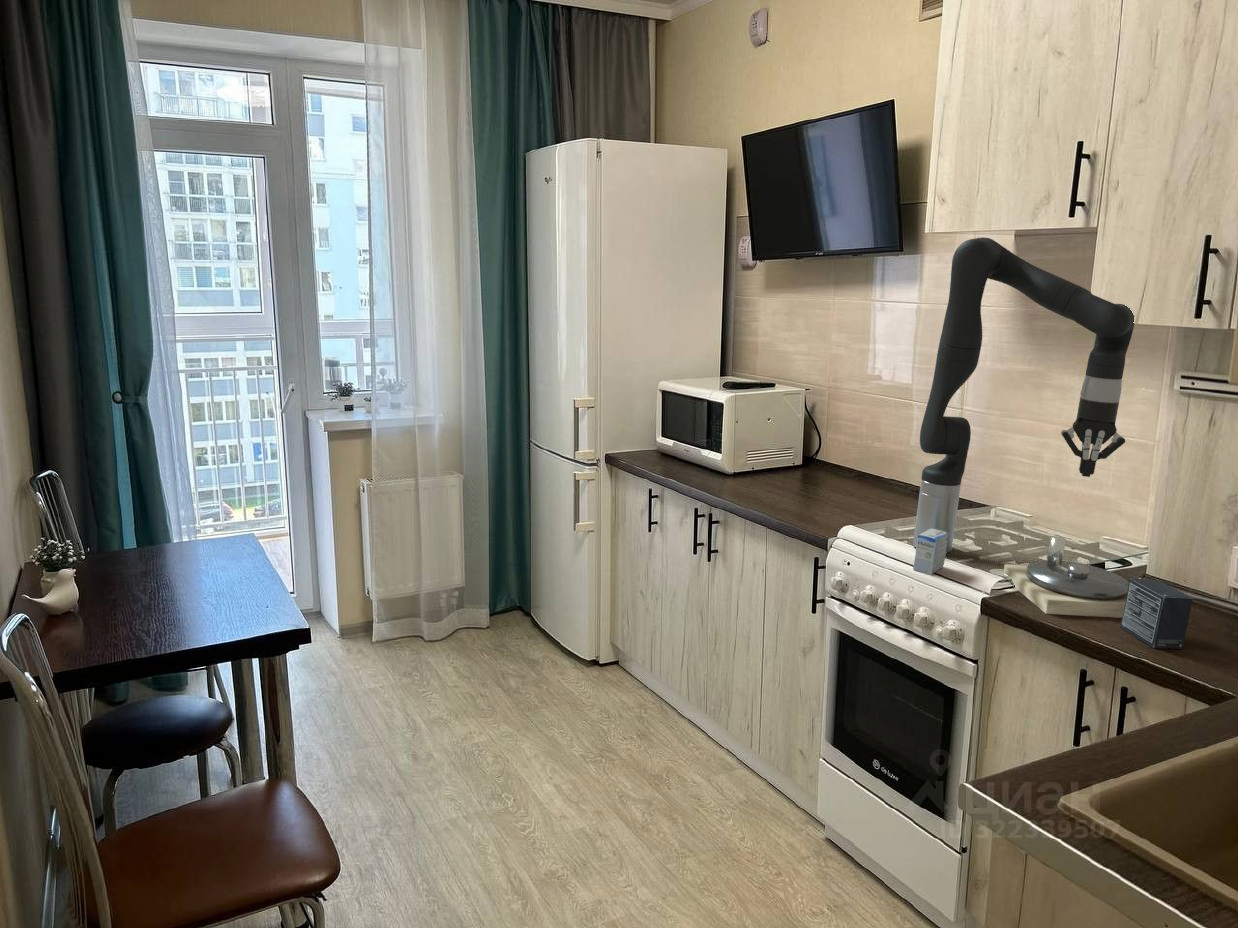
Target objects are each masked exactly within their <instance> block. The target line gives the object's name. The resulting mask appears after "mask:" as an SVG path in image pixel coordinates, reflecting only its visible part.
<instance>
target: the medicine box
mask: <svg viewBox="0 0 1238 928" xmlns="http://www.w3.org/2000/svg"><path fill="white" fill-rule="evenodd" d="M948 534H949V533H947V532H944V531H941V530H936V529H929V530H927V531H925V532H923V533H921V534H920V535H918V539H917V546H916V548H915V555H914V560H913V571H916V572H919V573H922V574H927V575H933V574H934V573H936V572H938V571H939V570H940V569H942V568H943V567H944V566H945V559H946V554H947V553H946V548H947V542H948ZM943 565H944V566H943Z"/></svg>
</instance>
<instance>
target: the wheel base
mask: <svg viewBox="0 0 1238 928" xmlns="http://www.w3.org/2000/svg"><path fill="white" fill-rule="evenodd" d="M1027 566H1028V565H1024V564H1023V565H1022V564H1004V566H1003V572H1004V573H1005V574H1007V575H1008V576H1009V577H1010V578H1011V579H1012V581H1013V583H1014V585H1015V587H1014V588H1015V589H1016V590H1017V591H1018V592H1020V593H1021V594H1022V595H1023V596H1025V597H1026V598H1027V599H1028V600H1029V601H1030V602H1031V603H1032V604H1034V605H1035V606H1036V607H1037V608H1039V610H1041V611H1042V612H1043V613H1044V614H1046V615H1059V616H1060V615H1065V616H1078V617H1079V616H1081V617H1083V616H1085V617H1098V618H1099V617H1101V618H1118V619H1120V618H1121V619H1122V617H1123V612H1124V607H1125V602H1126V597H1127V596H1125V597H1123V598H1118V599H1091V598H1084V597H1077V596H1072V595H1068V594H1064V593H1060V592H1056V591H1053V590H1050V589H1047V588H1045V587H1042V586H1040V585H1038V584H1036V583H1034V582H1033V581H1031V580H1030V579H1029V578H1028V577H1027V575H1026V571H1027Z"/></svg>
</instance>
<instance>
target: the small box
mask: <svg viewBox="0 0 1238 928" xmlns="http://www.w3.org/2000/svg"><path fill="white" fill-rule="evenodd" d="M1128 582H1129V586H1128V592H1127V597H1126V602H1125V607H1124V612H1123V617H1122V618H1121V621H1120V626H1119V627H1120V628H1121V629H1122V630H1124V631H1125V632H1127V633H1128V634H1130V635H1132V636H1133V637H1135V638H1136V639H1138V640H1139V641H1141V642H1142V643H1144V644H1146V645H1148V646H1149V647H1151V648H1152V649H1168V648H1170V649H1171V650H1173V649H1174V650H1175V649H1176V650H1182V649H1183V648H1184V643H1185V638H1186V633H1187V629H1188V625H1189V619H1190V614H1191V610H1192V605H1193V602H1194V597H1192V596H1190V595H1188V594H1187V593H1184V592H1183V591H1181V590H1178V589H1176V588H1174V587H1173V586H1171V585H1169V584H1166V583H1165V582H1163V581H1161V580H1159V579H1150V578H1136V577H1135V578H1132V577H1131V578H1129V579H1128Z"/></svg>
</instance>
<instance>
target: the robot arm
mask: <svg viewBox="0 0 1238 928" xmlns="http://www.w3.org/2000/svg"><path fill="white" fill-rule="evenodd" d="M950 268H951V269H950V270H951V271H950V285H949V292H948V293H949V295H948V302H947V307H946V310H945V316H944V319H943V325H942V330H941V334H940V338H939V344H938V348H937V354H936V361H935V366H934V367H935V368H934V372H933V373H934V374H933V379H932V383H931V388H930V394H929V397H928V401H927V404H926V408H925V411H924V415H923V418H922V421H921V423H922V424H921V427H920V433H919V445H920V448H921V450H922V452H924V453H925V454H932V455H944V458H942V459H941V460H939V461H937V462H936V463H932V464H930V465H927V466H925V467H924V468H923V469H922V471H921V480H920V485H919V486H920V487H919V488H920V489H919V493H918V494H919V495H918V502H917V509H916V518H915V526H914V533H913V541H912V546H915V547H916V546H917V539H918V535H920V534H921V533H923V532H925V531H927V530H929V529H936V530H941V531H944V532H947V533H949V534H948V542H947V548H946V552H950V551H951V552H952V550H953V542H954V535H955V528H956V521H957V514H958V507H959V501H960V500H959V499H960V492H961V485H962V479H963V476H964V473H965V469H966V463H967V457H968V452H969V448H970V445H971V444H970V443H971V442H970V441H971V434H972V433H971V430H972V429H971V425H970V423H969V420H968V419H967V418H965V417H960V416H947V415H946V416H945V413H946V409H947V407H948V404H949V403H950V401H951V399H952V398H953V397H954V395H955V394H956V392H957V391H958V390H959V389H960V388H961V387H962V386H963V385H964V384H965V383H966V382H967V381H968V380H969V379H970V377H971V376H972V375H973V373H974V372H975V371H976V369H977V367H978V364H979V359H980V354H981V349H982V343H983V321H982V310H981V309H982V300H983V296H984V293H985V288H986V285H987V280H988V279H989V280H993V281H994V282H995V281H996V282H999V283H1002V284H1005V285H1007V286H1009V287H1011V288H1013V289H1015V290H1017V291H1019V292H1020V293H1022V294H1024V295H1025V296H1026V297H1027V298H1028V299H1030V300H1031V301H1032V302H1034V303H1036V304H1037V305H1039V306H1041V307H1043V308H1045V309H1046V310H1048V311H1050V312H1053V313H1055V314H1057V315H1059V316H1061V317H1063V318H1065V319H1068V320H1071V321H1072V322H1075V323H1077V324H1078V325H1080V326H1082V327H1083V328H1085V329H1087V330H1088V331H1090V333H1091V332H1092V333H1094V334H1095V339H1094V345H1093V348H1092V349H1091V351H1090V352H1089V353H1090V354H1089V355H1088V360H1087V363H1086V364H1087V365H1086V370H1085V376H1084V380H1083V382H1082V386H1081V390H1080V394H1079V395H1080V397H1079V402H1078V408H1077V409H1078V410H1077V414H1076V419H1075V421H1074V422H1073V423H1072V427H1070V428H1068V429H1066V430H1065V429H1063V430H1062V431H1060V432H1061V434H1060V435H1061V436H1062V437H1063V439H1064V440H1065V442H1066V444H1067V445H1068V447H1069V449H1070V450H1071V451H1072V453H1073V454H1074V456H1077V457H1079V458H1080V462H1079V467H1078V471H1079V473H1080V474H1081V476H1082V477H1085V478H1090V477H1091V475H1092V476H1093V475H1094V474H1095V469H1096V465H1097V461H1098V460H1105V459H1107V458H1108V457H1109V456H1111V455H1112V454H1113V453H1114V452H1116V450H1118V449H1119V448H1120V447H1122V446H1123V445H1124V444H1125V443H1126V439H1125V438H1124V436H1121V435H1120V434H1119V433H1118V431H1117V427H1116V420H1117V414H1118V409H1119V406H1120V405H1119V404H1120V399H1121V394H1122V386H1123V385H1122V384H1123V383H1122V382H1123V376H1124V370H1125V365H1126V356H1127V352H1128V349H1129V346H1130V342H1131V340H1132V336H1133V332H1134V328H1135V323H1133V322H1134V317H1135V314H1134V315H1133V313H1134V312H1133V313H1132V311H1133V310H1132V309H1131V308H1130V307H1129V306H1128V307H1129V308H1128V307H1127V305H1126V306H1125V304H1122V303H1115V302H1111V301H1110V300H1107V299H1104V298H1103V297H1099V296H1097V295H1095V294H1093V293H1092V292H1091V291H1090V290H1088V289H1086V288H1085V287H1083V286H1081V285H1078V284H1076V283H1074V282H1072V281H1069V280H1067V279H1065V278H1063V277H1060V276H1058V275H1056V274H1054V273H1051V272H1049V271H1047V270H1045V269H1042V268H1040V267H1038V266H1036V265H1034V264H1031V263H1030V262H1029V261H1026V260H1024V259H1023V258H1021V257H1020V256H1018V255H1016V254H1015V253H1013V252H1011V251H1010V250H1009V249H1007V247H1004V246H1003V245H1001V243H998V242H997V241H995V240H994V239H992V238H990V237H975V238H970V239H966V240H965V241H963V242H962V243H960V245H959V246H957V248H956V250H955V251H954V253H953V256H952V260H951V267H950ZM1130 309H1131V310H1132V311H1131V310H1130ZM1074 434H1076V436H1077V438H1078V439H1079V441H1080V442H1081V450H1080V449H1079V448H1078V447H1077V445H1076V443H1075V442H1074V440H1073V439H1074V438H1075V435H1074ZM1109 440H1110V441H1111V443H1109V444H1108V445H1107V446H1106V447H1104V448H1103V449H1102V445H1104V444H1106V443H1107V441H1109ZM1101 449H1102V450H1101ZM951 552H950V553H951Z"/></svg>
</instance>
